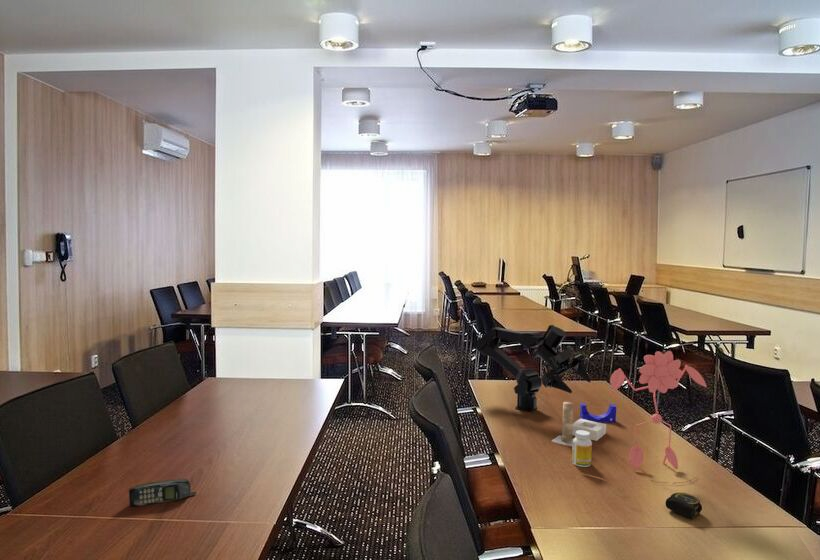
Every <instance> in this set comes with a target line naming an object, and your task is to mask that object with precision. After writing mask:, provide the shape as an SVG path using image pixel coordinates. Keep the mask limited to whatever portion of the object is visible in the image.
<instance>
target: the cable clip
mask: <svg viewBox="0 0 820 560" xmlns="http://www.w3.org/2000/svg"><path fill="white" fill-rule="evenodd" d="M579 419H585V420H589V421H594V422H598V423H616V422H617V421H616V419H617V406H616V405H615V404H614V403H609V407H608V409H607V410H606V411H605V412H604V413H603V414H600V415H595V414H592V413H590V412H589V411H588V409H587V405H586V403H584V402H580V407H579Z"/></svg>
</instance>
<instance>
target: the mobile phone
mask: <svg viewBox="0 0 820 560" xmlns="http://www.w3.org/2000/svg"><path fill="white" fill-rule="evenodd" d="M193 495H197V491H191V483H190V481H189V479H187V478H175V479H168V480H160V481H152V482H146V483H140V484H137V485H134V486H131V487H130V488H129V489H128V498H129V501H128V502H129V506H130V507H132V508H133V507H140V506H147V505H154V504H161V503H171V502H175V501H179V500H183V499H185V498H188V497H189V496H193Z"/></svg>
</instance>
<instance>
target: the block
mask: <svg viewBox="0 0 820 560" xmlns="http://www.w3.org/2000/svg"><path fill="white" fill-rule="evenodd" d="M578 430H584V431H588V432H589V433H590V438H589V439H590V440H591V441H596V442H597V441H598V440H600V439H601V438H602V437H603V436H605V435H606V433H607V424H606V423H604V422H600V423H598V422H594V421H589V420H585V419H580V418H579V419H577V420H575V421H574V422H573V430H572V436H574V437H576V436H575V435H576V431H578Z"/></svg>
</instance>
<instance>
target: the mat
mask: <svg viewBox="0 0 820 560" xmlns="http://www.w3.org/2000/svg"><path fill="white" fill-rule="evenodd" d="M573 439H574V438H573V437H572V442H571V443H565V442H563V441H562V434H561V435H560V434H559V435H557V436H556V437H555V438H554V439H552V440H551V441H550V442H551V443H555V444H560V445H564V446H568V447H572V448H573Z"/></svg>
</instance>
